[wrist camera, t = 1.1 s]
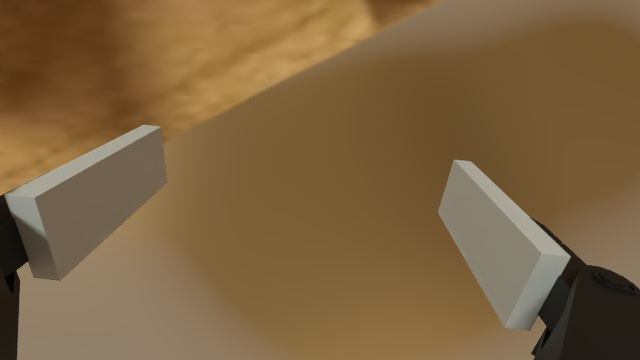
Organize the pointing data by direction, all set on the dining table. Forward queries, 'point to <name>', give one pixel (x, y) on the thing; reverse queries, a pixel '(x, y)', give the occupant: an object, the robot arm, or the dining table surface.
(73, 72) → the dining table surface
